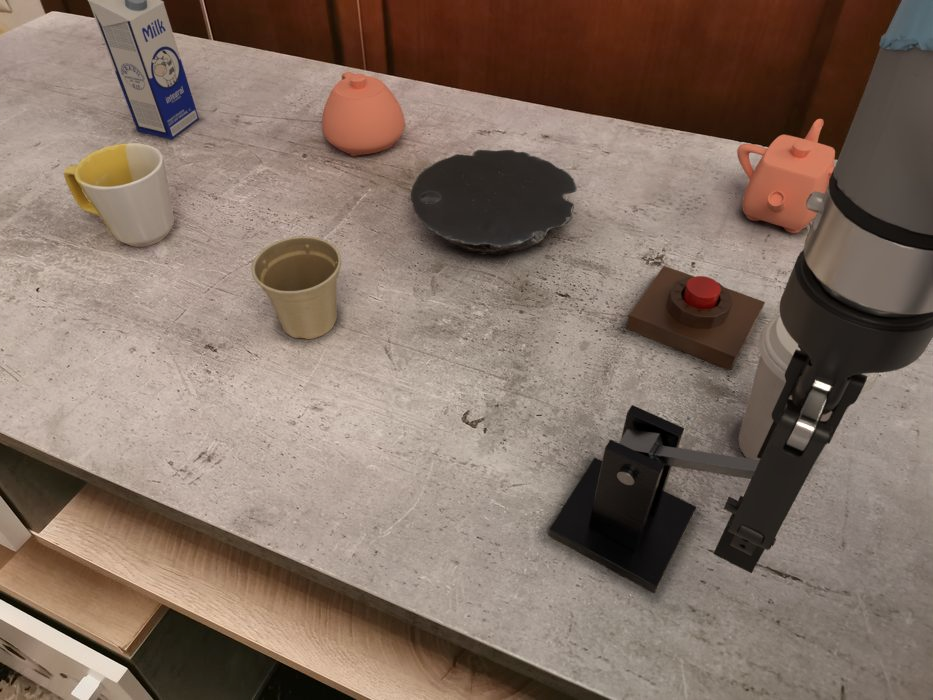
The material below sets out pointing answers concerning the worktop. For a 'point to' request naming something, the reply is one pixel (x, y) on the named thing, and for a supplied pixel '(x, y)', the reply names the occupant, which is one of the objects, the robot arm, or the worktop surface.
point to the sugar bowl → (362, 115)
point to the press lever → (687, 456)
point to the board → (493, 200)
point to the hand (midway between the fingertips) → (755, 507)
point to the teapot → (786, 178)
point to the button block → (695, 319)
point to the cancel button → (702, 292)
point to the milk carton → (147, 64)
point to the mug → (125, 192)
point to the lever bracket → (627, 508)
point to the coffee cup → (772, 386)
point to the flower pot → (300, 283)
